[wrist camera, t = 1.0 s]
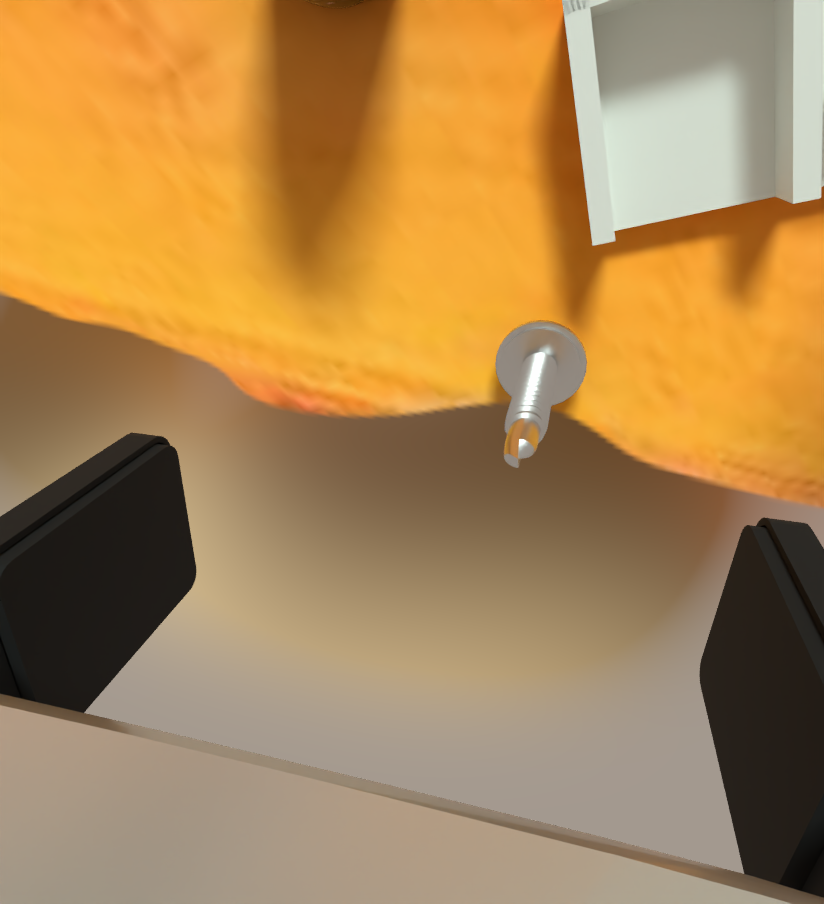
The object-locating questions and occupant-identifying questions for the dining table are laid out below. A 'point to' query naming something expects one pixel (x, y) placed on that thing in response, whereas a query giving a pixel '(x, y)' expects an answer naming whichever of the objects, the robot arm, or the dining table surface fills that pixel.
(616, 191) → the rack
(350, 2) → the supplement bottle
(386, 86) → the dining table surface
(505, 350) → the screw
